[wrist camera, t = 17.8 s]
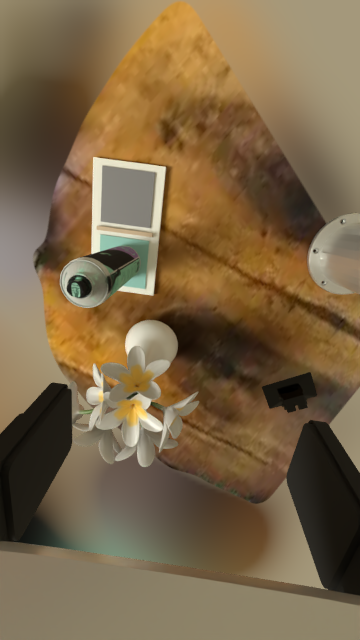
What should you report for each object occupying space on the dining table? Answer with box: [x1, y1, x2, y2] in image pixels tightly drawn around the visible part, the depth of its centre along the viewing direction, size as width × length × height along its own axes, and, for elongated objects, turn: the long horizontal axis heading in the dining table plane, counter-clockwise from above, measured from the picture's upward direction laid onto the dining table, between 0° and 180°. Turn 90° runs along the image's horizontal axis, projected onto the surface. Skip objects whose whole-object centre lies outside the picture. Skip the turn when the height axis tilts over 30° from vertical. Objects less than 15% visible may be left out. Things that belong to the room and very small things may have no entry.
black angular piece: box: [262, 372, 317, 413], centre depth 52 cm, size 12×7×5 cm, turn 112°
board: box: [92, 157, 166, 295], centre depth 45 cm, size 11×20×2 cm, turn 173°
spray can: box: [60, 245, 141, 308], centre depth 37 cm, size 6×6×20 cm
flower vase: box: [68, 320, 199, 467], centre depth 40 cm, size 13×18×25 cm
